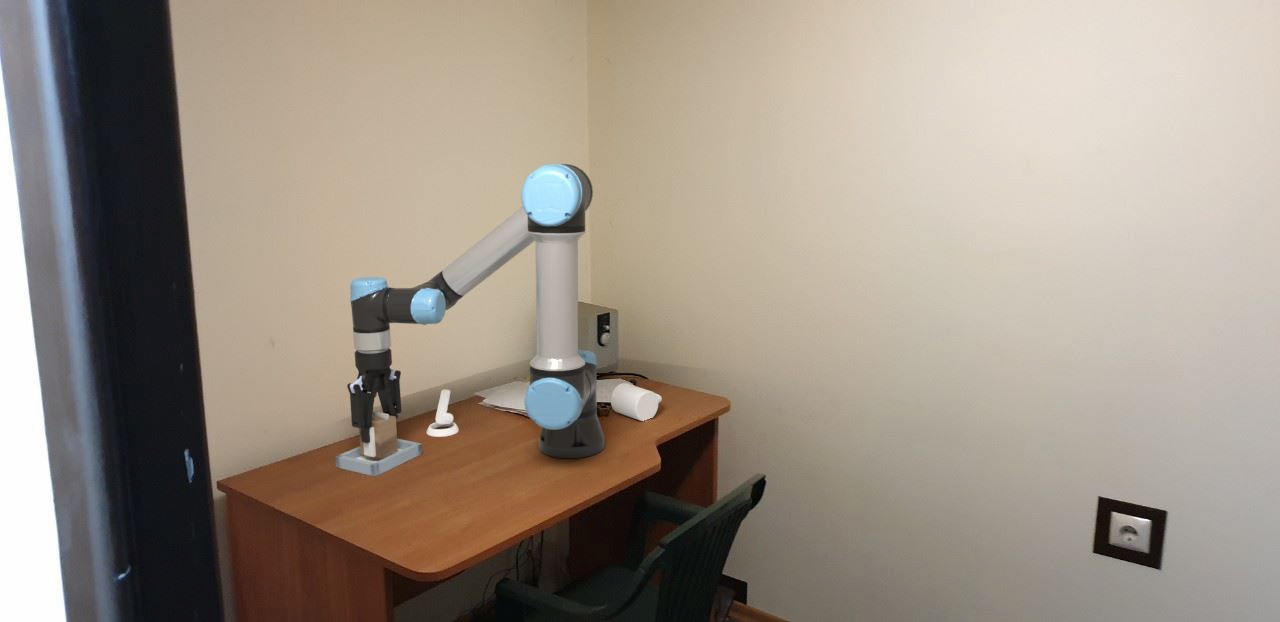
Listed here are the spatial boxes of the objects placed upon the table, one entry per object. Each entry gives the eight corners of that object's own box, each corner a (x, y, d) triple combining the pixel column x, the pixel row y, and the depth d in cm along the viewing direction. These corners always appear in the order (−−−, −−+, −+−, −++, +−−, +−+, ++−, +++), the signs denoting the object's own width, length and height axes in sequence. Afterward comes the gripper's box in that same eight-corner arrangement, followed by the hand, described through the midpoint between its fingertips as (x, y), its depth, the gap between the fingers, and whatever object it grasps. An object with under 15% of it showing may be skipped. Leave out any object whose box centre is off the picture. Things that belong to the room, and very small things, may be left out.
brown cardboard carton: (397, 450, 172) (395, 411, 170) (381, 458, 167) (378, 418, 165) (377, 446, 174) (375, 407, 172) (360, 453, 170) (358, 413, 168)
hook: (463, 400, 197) (465, 391, 191) (455, 445, 192) (457, 438, 186) (433, 395, 196) (434, 387, 189) (424, 441, 190) (426, 434, 184)
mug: (636, 424, 195) (636, 394, 193) (610, 415, 202) (610, 386, 200) (669, 414, 203) (670, 385, 201) (644, 405, 210) (644, 377, 208)
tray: (422, 453, 175) (421, 443, 174) (375, 476, 162) (374, 465, 162) (384, 445, 180) (383, 435, 179) (335, 467, 167) (335, 456, 167)
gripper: (389, 338, 176) (395, 435, 180) (326, 356, 160) (335, 462, 164) (415, 342, 172) (420, 440, 177) (353, 360, 156) (361, 468, 161)
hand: (379, 450), depth 171 cm, fingers closed on brown cardboard carton, 5 cm apart
